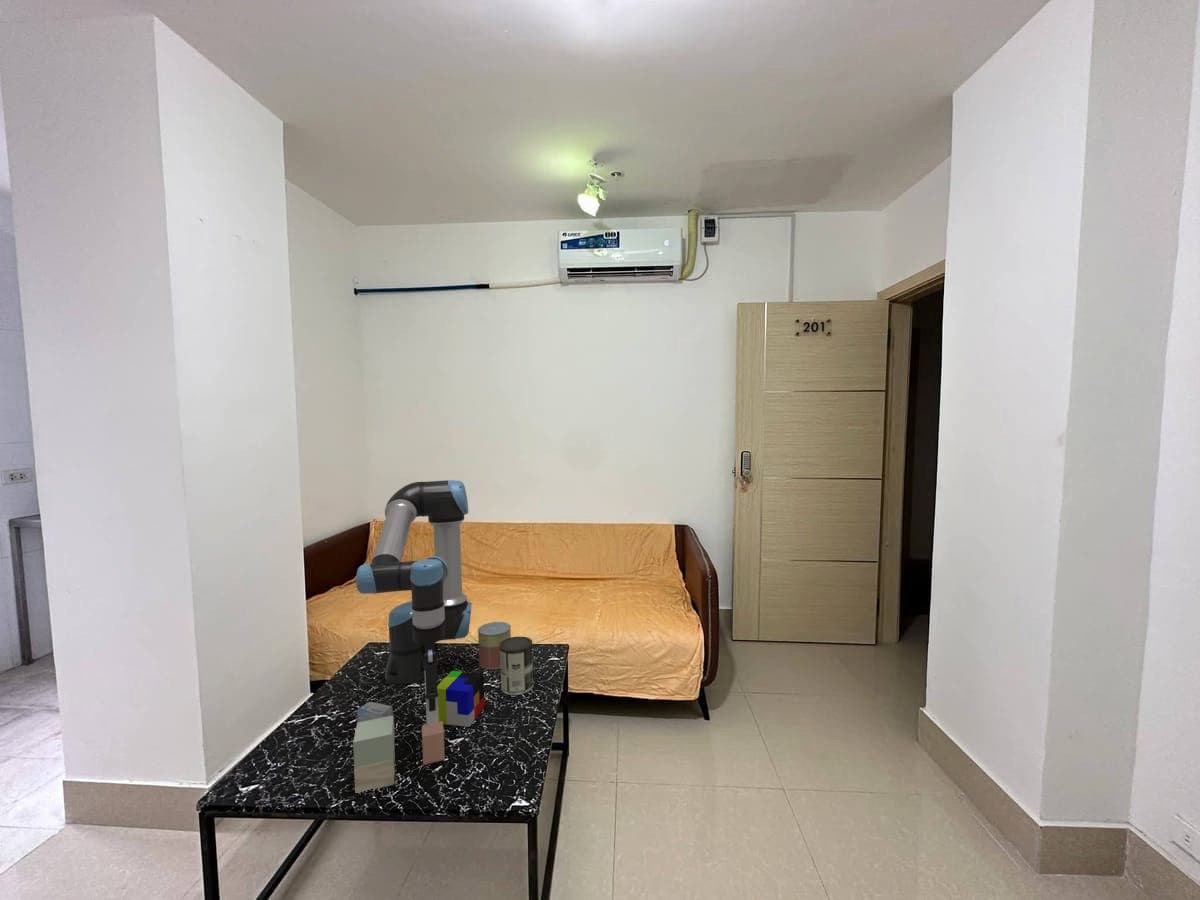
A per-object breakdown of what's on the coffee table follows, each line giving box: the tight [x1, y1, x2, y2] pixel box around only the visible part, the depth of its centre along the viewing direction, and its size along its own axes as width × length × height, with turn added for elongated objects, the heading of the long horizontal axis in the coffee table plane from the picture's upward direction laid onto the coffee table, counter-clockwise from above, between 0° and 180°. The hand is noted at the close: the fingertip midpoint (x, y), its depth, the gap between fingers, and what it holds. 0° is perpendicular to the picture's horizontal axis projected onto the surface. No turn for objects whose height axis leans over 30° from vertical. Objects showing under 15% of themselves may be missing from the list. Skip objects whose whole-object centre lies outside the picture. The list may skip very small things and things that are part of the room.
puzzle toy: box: [437, 670, 486, 728], centre depth 141 cm, size 10×10×10 cm
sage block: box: [352, 714, 396, 768], centre depth 116 cm, size 8×8×6 cm
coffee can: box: [499, 636, 535, 696], centre depth 156 cm, size 10×10×14 cm
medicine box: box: [356, 701, 394, 723], centre depth 130 cm, size 8×4×9 cm, turn 71°
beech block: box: [353, 748, 396, 794], centre depth 116 cm, size 8×8×6 cm
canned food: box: [477, 621, 512, 670], centre depth 173 cm, size 11×11×12 cm
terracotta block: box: [421, 721, 446, 766], centre depth 123 cm, size 5×5×7 cm
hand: (431, 707), depth 122 cm, fingers open, 13 cm apart
